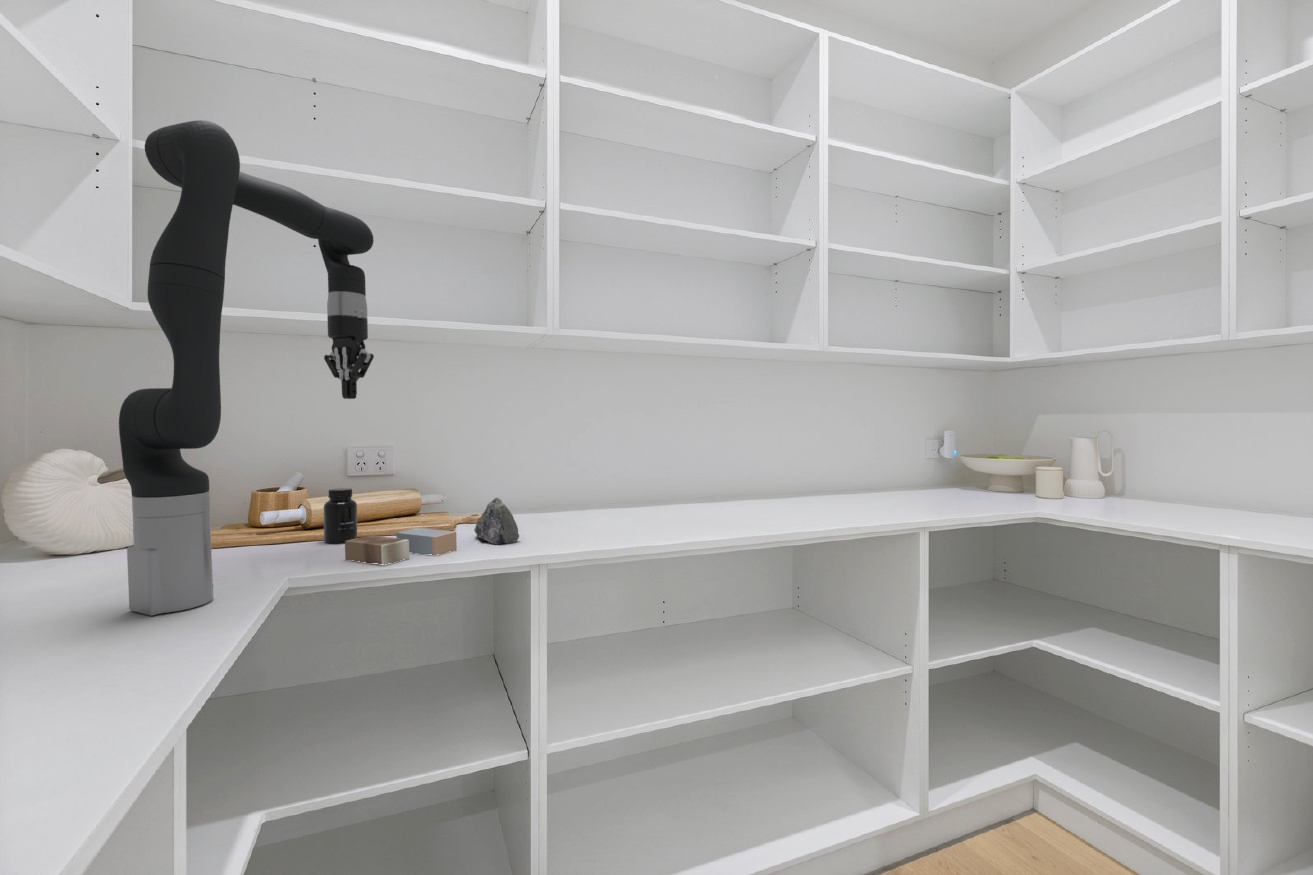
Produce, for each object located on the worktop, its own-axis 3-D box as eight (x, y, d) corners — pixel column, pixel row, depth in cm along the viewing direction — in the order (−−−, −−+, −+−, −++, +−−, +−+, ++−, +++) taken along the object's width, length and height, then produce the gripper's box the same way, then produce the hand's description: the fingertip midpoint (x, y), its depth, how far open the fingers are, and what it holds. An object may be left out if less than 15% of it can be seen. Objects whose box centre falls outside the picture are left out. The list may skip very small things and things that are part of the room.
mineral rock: (476, 535, 144) (475, 493, 143) (521, 533, 146) (521, 492, 145) (468, 546, 131) (467, 501, 131) (518, 544, 133) (517, 500, 133)
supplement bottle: (347, 544, 134) (346, 491, 133) (317, 544, 134) (316, 491, 133) (363, 537, 141) (362, 487, 140) (334, 537, 141) (333, 487, 140)
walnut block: (384, 545, 114) (344, 540, 119) (384, 566, 115) (345, 560, 119) (408, 539, 120) (370, 535, 124) (409, 559, 120) (371, 554, 125)
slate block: (435, 537, 122) (396, 532, 127) (435, 556, 122) (396, 551, 127) (456, 531, 128) (418, 527, 132) (456, 550, 128) (418, 545, 132)
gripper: (310, 316, 125) (312, 398, 125) (353, 311, 119) (354, 397, 120) (342, 321, 132) (344, 399, 132) (384, 316, 126) (386, 398, 127)
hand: (349, 398), depth 126 cm, fingers closed
